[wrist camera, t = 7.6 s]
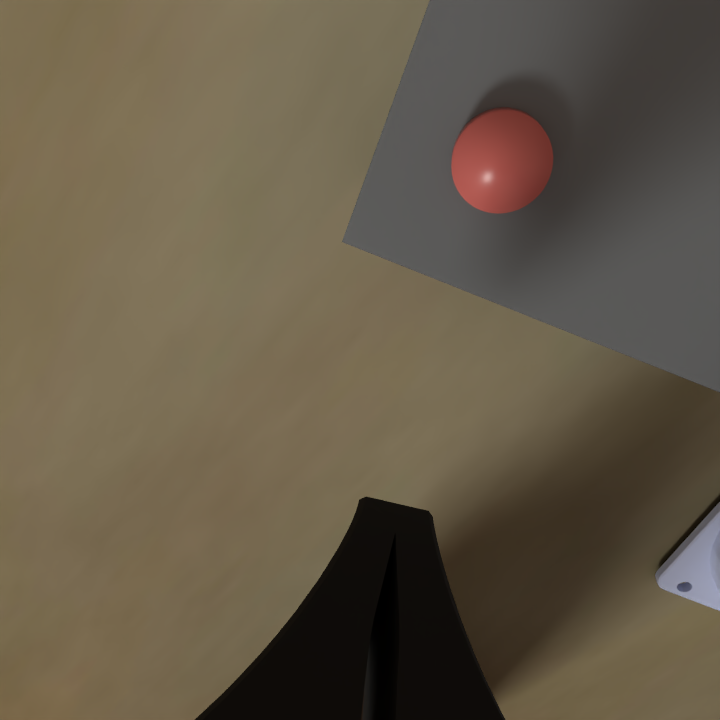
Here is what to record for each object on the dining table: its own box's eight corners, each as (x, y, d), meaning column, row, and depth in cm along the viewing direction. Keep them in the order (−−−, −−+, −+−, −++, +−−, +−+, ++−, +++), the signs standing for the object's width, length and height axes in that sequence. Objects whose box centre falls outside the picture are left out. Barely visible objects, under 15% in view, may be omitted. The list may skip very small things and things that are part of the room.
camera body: (1030, 42, 15) (1276, 57, 10) (771, 356, 19) (864, 459, 15) (508, -189, 14) (530, -282, 10) (366, 192, 18) (337, 250, 14)
